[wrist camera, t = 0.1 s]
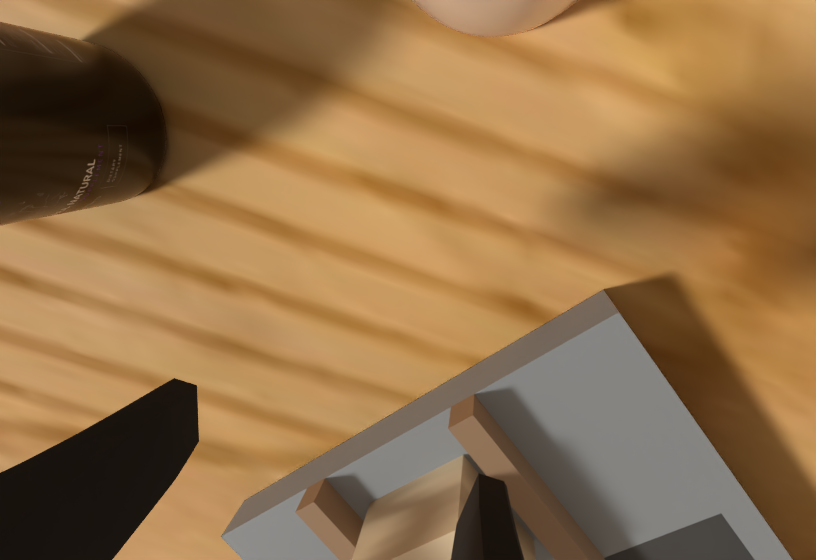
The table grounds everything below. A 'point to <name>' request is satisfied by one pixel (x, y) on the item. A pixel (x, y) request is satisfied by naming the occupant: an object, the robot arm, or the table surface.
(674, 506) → the board
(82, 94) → the supplement bottle
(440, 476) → the maple block
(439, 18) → the candle holder
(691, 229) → the table surface
